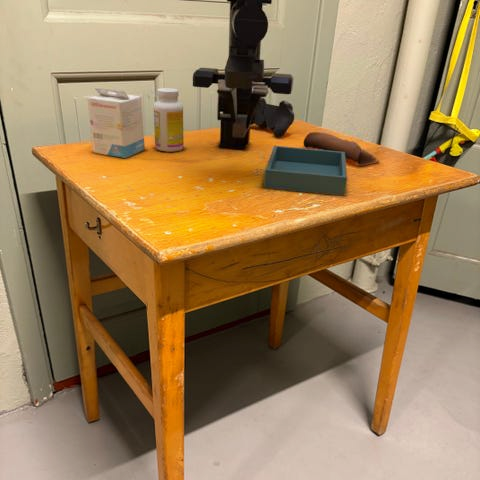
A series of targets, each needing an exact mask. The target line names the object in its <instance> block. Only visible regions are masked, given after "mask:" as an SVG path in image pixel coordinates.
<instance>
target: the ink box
mask: <svg viewBox="0 0 480 480" xmlns="http://www.w3.org/2000/svg"><path fill="white" fill-rule="evenodd" d="M94 89H95V91H96V92H97V94H98V95H93V96H90V97H87V106H88V107H87V108H88V117H89V125H90V130H91V132H90V133H91V140H92V149H93V153H94V154H99V155H104V156H111V157H116V158H122V159H127V158H130V157H132V156H134V155H136V154H138V153H141V152H143V151H145V150H146V147H145V146H146V145H145V134H144V119H143V118H144V117H143V104H142V103H143V101H142V96H140V95H133V94H127V92H125V91H124V90H121V89H120V90H118V89H111V88H104V87H94Z"/></svg>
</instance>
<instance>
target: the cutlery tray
mask: <svg viewBox="0 0 480 480" xmlns="http://www.w3.org/2000/svg"><path fill="white" fill-rule="evenodd" d="M263 180H264V181H263V188H264V189H268V190H269V189H270V190H279V191H280V190H281V191H291V192H299V193H300V192H302V193H312V194H322V195H332V196H342V197H344V196H345V191H346V186H347V180H348V174H347V162H346V158H345V152H339V151H328V150H323V149H317V148H306V147H294V146H284V145H280V146H279V145H274V146H273V148H272V150H271V153H270V156H269V159H268V161H267V164H266V167H265V170H264V179H263Z"/></svg>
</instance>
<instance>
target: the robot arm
mask: <svg viewBox="0 0 480 480" xmlns="http://www.w3.org/2000/svg"><path fill="white" fill-rule="evenodd" d="M226 2H228V3H229V18H228V19H229V23H228V24H229V25H228V27H229V28H228V58H227V60H226V64H225V67H224V73H219V69H218V68H213V67H199V68H198V69H196V70H195V71H194V72H193V74H192V87H194V88H204V89H209V88H210V87H211V86H212V85H213V84H215V85H217V90H216V93H217V104H216V105H217V106H216V119H217V121H220V127H219V128H220V130H219V131H220V133H219V134H220V135H219V142H218V148H226V149H236V150H246V148H247V146H249V145H250V140H251V139H250V138H251V125H250V123H251V122H253V120H255V112H256V107H257V105H258V103H259V101H260V99H261V97H262V98H266V97H267V96H268V94H269V89H270V91H271V92H272V93H273V94H279V95H292V92H293V88H294V77H293V75H292V74H290V73H289V74H288V73H276V72H273V73H272V74H271V76H270V77H269V76H265V59H261V50H262V49H261V47H262V41H263V40H264V39H265V37H266V35H267V32H268V29H269V21H268V16H267V14H266V12H265V11H264V9H263V6H264V5H272V2H273V0H226ZM263 4H264V5H263ZM238 118H243V119H247V121H246V129H248V128H249V129H248V131H247V133H246V135H245V136H244V138H237V137H233V124H234V123H235V121H236V120H237V119H238ZM249 126H250V127H249Z"/></svg>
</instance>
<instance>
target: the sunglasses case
mask: <svg viewBox="0 0 480 480" xmlns="http://www.w3.org/2000/svg"><path fill="white" fill-rule="evenodd" d="M303 147H304V148H306V149H308V148H312V149H317V150H328V151H339V152H345V159H346V160H349V161H352V162H354V163H357V164H358V166H359V167H367V166H370V165H375V164H377V163H379V159H378V158H377V157H376V156H374V155H373V154H371V153H370V152H369V151H366V150H364V149H363V148H362V147H361V146H360V145H359V144H358V143H357V142H356V141H354V140H353V141H351V140H349V139H343V138H341V137H339V136H336V135H333V134H330V133H326V132H321V131H320V132H319V131H318V132H316V131H314V132H312V131H311V132H309V133H308V134H306V136H305V137H304V139H303Z"/></svg>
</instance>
